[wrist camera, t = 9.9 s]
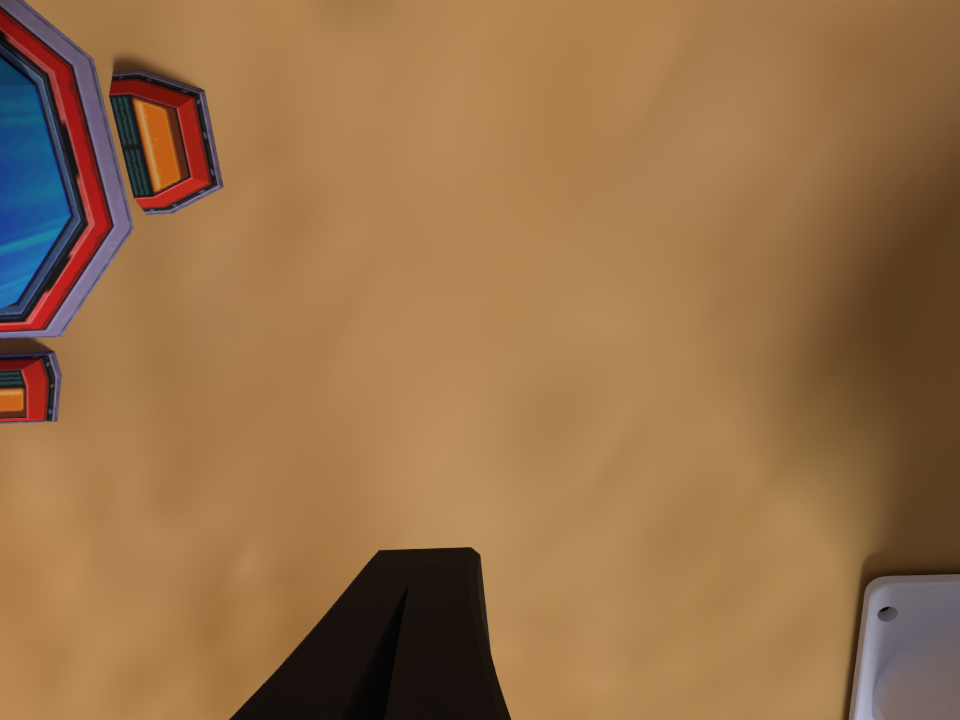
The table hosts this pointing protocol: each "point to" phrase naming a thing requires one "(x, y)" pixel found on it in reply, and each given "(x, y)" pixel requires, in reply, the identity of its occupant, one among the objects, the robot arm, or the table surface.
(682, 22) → the table surface
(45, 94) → the fantasy tower
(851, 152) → the table surface
